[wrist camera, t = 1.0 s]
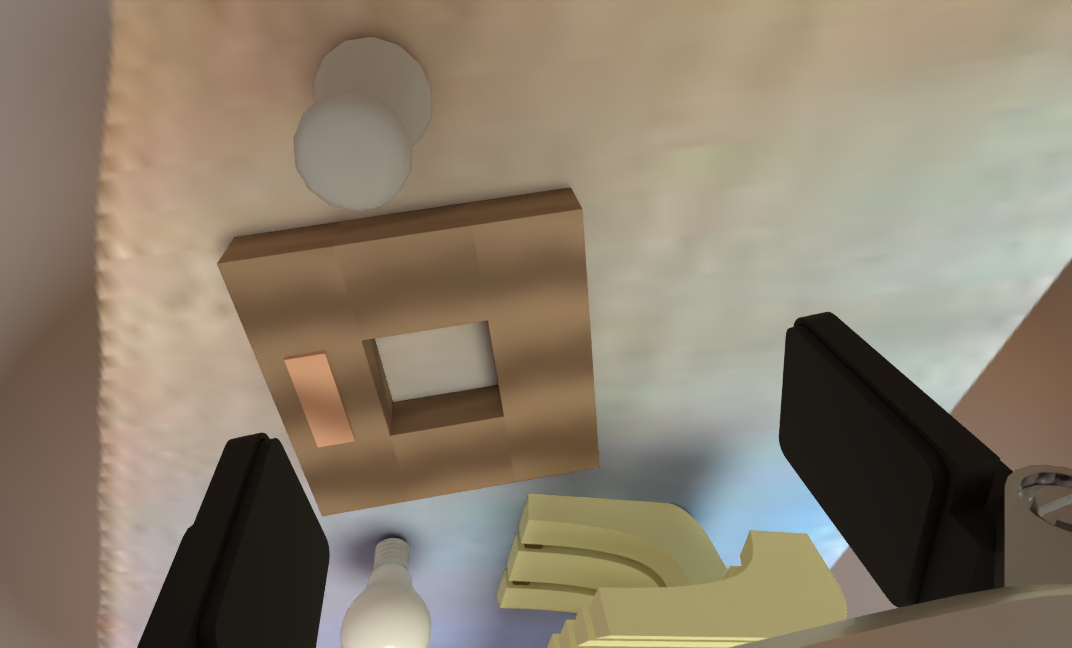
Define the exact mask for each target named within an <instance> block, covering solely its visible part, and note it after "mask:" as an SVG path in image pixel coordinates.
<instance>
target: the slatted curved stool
mask: <svg viewBox="0 0 1072 648" xmlns="http://www.w3.org/2000/svg"><path fill="white" fill-rule="evenodd" d="M519 532H520V533H516V535H515V538H514V541H513V544H512V547H511V551H510V554H509V557H508V560H507V569H504V573H503V576H502V579H501V582H500V585H499V588H498V592H497V595H496V597H497V600H498V602H499V606H500V608H516V609H537V610H552V611H563V612H571V613H577V616H576V618H575V620H566V621H565V623H564V626H563V628H562V631H561V633H552V636H551V638H550V641H549V643H548V646H547V648H729V647H734V646H738V645H742V644H746V643H750V642H755V641H759V640H763V639H767V638H771V637H776V636H780V635H784V634H788V633H793V632H797V631H801V630H805V629H809V628H814V627H818V626H822V625H826V624H831V623H835V622H839V621H843V620H846V618H847V606H846V601H845V598H844V595H843V592H842V590H841V589H840V587H839V585H838V583H837V581H836V580H835V578H834V576H833V575H832V573H831V572H830V570H829V568H828V567H827V565H826V564H825V562H824V560H823V559H822V557H821V556H820V554H819V552H818V551H817V549H816V548H815V546H814V544H813V543H812V541H811V540H810V538H809V536H808V535H807V534H802V533H786V532H769V531H753V530H750V532H749V534H748V537H747V540H746V542H745V545H744V547H743V550H742V552H741V554H740V558H741V565H742V566H730V568H729V569H727V567H726V566H725V564H724V563H723V561H722V560H721V558H720V557H719V555H718V553H717V551H716V549H715V547H714V545H713V544H712V542H711V540H710V539H709V537H708V536H707V534H706V533H705V532H704V530H703V529H702V527H701V526H700V525H699V524H698V523H697V521H696V520H695V519H694V518H693V517H692V516H691V515H690V514H689V513H687V512H686V511H685V510H683V509H682V508H680V507H678V506H676V505H674V504H670V503H660V502H646V501H631V500H617V499H603V498H588V497H574V496H560V495H545V494H531V493H529V494H528V497H527V500H526V503H525V506H524V509H523V513H522V516H521V519H520V522H519Z"/></svg>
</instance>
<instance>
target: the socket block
mask: <svg viewBox="0 0 1072 648" xmlns="http://www.w3.org/2000/svg"><path fill="white" fill-rule="evenodd" d="M217 265H218V267H219V270H220V272H221V275H222V277H223V279H224V282H225V284H226V287H227V289H228V291H229V294H230V296H231V299H232V301H233V303H234V306H235V308H236V311H237V313H238V315H239V318H240V320H241V323H242V325H243V327H244V330H245V332H246V335H247V337H248V339H249V342H250V344H251V347H252V349H253V351H254V354H255V356H256V359H257V361H258V363H259V366H260V368H261V371H262V373H263V375H264V378H265V380H266V383H267V385H268V388H269V390H270V392H271V395H272V397H273V400H274V402H275V404H276V407H277V409H278V412H279V414H280V416H281V419H282V421H283V424H284V426H285V428H286V431H287V433H288V436H289V438H290V440H291V443H292V445H293V448H294V450H295V452H296V455H297V457H298V460H299V462H300V464H301V467H302V469H303V472H304V474H305V476H306V479H307V481H308V484H309V486H310V488H311V491H312V493H313V496H314V498H315V500H316V503H317V505H318V508H319V510H320V512H321V515H322V516H326V515H332V514H338V513H343V512H349V511H355V510H360V509H366V508H372V507H377V506H383V505H389V504H394V503H400V502H406V501H412V500H417V499H423V498H429V497H434V496H440V495H446V494H451V493H457V492H463V491H468V490H474V489H480V488H485V487H491V486H497V485H502V484H508V483H514V482H519V481H525V480H531V479H536V478H542V477H548V476H553V475H559V474H565V473H570V472H576V471H582V470H587V469H593V468H599V467H600V466H599V451H598V437H597V422H596V407H595V392H594V377H593V362H592V347H591V332H590V317H589V302H588V287H587V272H586V257H585V242H584V227H583V212H582V207H581V206H580V204H579V202H578V200H577V198H576V196H575V195H574V193H573V191H572V189H571V188H566V189H559V190H552V191H546V192H539V193H532V194H525V195H519V196H512V197H505V198H498V199H491V200H485V201H478V202H471V203H464V204H458V205H451V206H444V207H437V208H431V209H424V210H417V211H410V212H404V213H397V214H390V215H383V216H376V217H370V218H363V219H356V220H349V221H343V222H336V223H329V224H322V225H316V226H309V227H302V228H295V229H289V230H282V231H275V232H268V233H262V234H255V235H248V236H241V237H234V239H233V240H232V242H231V243H230V245H229V246H228V248H227V249H226V251H225V252H224V254H223V255H222V257H221V259H220V260H219V262H218V263H217ZM481 321H488V324H489V330H490V336H491V342H492V348H493V354H494V360H495V366H496V372H497V378H498V384H499V385H497V386H491V387H485V388H479V389H473V390H467V391H461V392H455V393H449V394H443V395H437V396H431V397H425V398H419V399H413V400H407V401H401V402H395V403H393V401H392V397H391V394H390V390H389V387H388V383H387V380H386V376H385V373H384V369H383V366H382V363H381V359H380V356H379V352H378V349H377V345H376V342H375V338H381V337H387V336H394V335H400V334H406V333H413V332H419V331H425V330H431V329H438V328H444V327H450V326H456V325H463V324H469V323H475V322H481Z"/></svg>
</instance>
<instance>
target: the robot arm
mask: <svg viewBox="0 0 1072 648" xmlns="http://www.w3.org/2000/svg"><path fill="white" fill-rule="evenodd" d="M779 442H780V447H781V450H782V452H783V454H784V456H785V458H786V459H787V460H788V462H789V463H790V464H791V466H792V467H793V469H794V470H795V471H796V473H797V474H798V475H799V477H800V478H801V480H802V481H803V482H804V484H805V485H806V486H807V488H808V489H809V491H810V492H811V493H812V495H813V496H814V498H815V499H816V500H817V502H818V503H819V504H820V506H821V507H822V509H823V510H824V511H825V513H826V514H827V515H828V517H829V518H830V520H831V521H832V522H833V524H834V525H835V526H836V528H837V529H838V531H839V532H840V533H841V535H842V536H843V537H844V539H845V540H846V542H847V543H848V544H849V546H850V547H851V548H852V549H853V551H854V552H855V554H856V555H857V557H858V558H859V560H860V561H861V562H862V563H863V565H864V566H865V567H866V569H867V571H868V572H869V573H870V575H871V576H872V577H873V579H874V580H875V582H876V583H877V584H878V585H879V587H880V588H881V590H882V591H883V593H884V594H885V595H886V597H887V598H888V599H889V601H890V602H891V603H892V604H893V605H895V606H896V607H899V608H896V609H892V610H887V611H883V612H879V613H873V614H869V615H865V616H861V617H856V618H852V619H848V620H843V621H839V622H835V623H831V624H826V625H822V626H818V627H814V628H809V629H805V630H801V631H797V632H793V633H788V634H784V635H780V636H776V637H771V638H767V639H763V640H759V641H755V642H750V643H746V644H742V645H738V646H734V647H729V648H1072V469H1069V468H1066V467H1059V466H1052V465H1029V466H1026V467H1023V468H1020V469H1017V470H1015V471H1014V472H1013V471H1012V470H1010V468H1008V467H1007V466H1006V465H1005V464H1004V463H1003V462H1001V461H1000V458H999V457H998V456H997V455H996V454H995V453H993V452H992V451H991V450H990V449H989V448H988V447H987V446H985V445H984V444H983V443H982V442H981V441H980V440H979V439H977V438H976V437H975V436H974V435H973V434H972V433H971V432H969V431H968V430H967V429H966V428H965V427H963V426H962V425H961V424H960V423H959V422H958V421H957V420H956V419H954V418H953V417H952V416H951V415H950V414H949V413H947V412H946V411H945V410H944V409H943V408H942V407H941V406H939V405H938V404H937V403H936V402H935V401H934V400H932V399H931V398H930V397H929V396H928V395H927V394H926V393H924V392H923V391H922V390H921V389H920V388H919V387H917V386H916V385H915V384H914V383H913V382H912V381H911V380H909V379H908V378H907V377H906V376H905V375H904V374H902V373H901V372H900V371H899V370H898V369H897V368H896V367H894V366H893V365H892V364H891V363H890V362H889V361H887V360H886V359H885V358H884V357H883V356H882V355H881V354H879V353H878V352H877V351H876V350H875V349H874V348H872V347H871V346H870V345H869V344H868V343H867V342H865V341H864V340H863V339H862V338H861V337H860V336H859V335H857V334H856V333H855V332H854V331H853V330H852V329H850V328H849V327H848V326H847V325H846V324H845V323H844V322H842V321H841V320H840V319H839V318H838V317H837V316H835V315H834V314H833V313H831V312H824V313H819V314H815V315H810V316H805V317H801V318H798V319H797V320H796V321H795V323H794V327H791V328H789V329H788V330H787V332H786V341H785V356H784V370H783V385H782V399H781V414H780V429H779ZM329 557H330V556H329V545H328V541H327V539H326V536H325V534H324V532H323V530H322V528H321V526H320V524H319V522H318V519H317V517H316V515H315V513H314V511H313V509H312V507H311V505H310V503H309V500H308V498H307V496H306V494H305V492H304V490H303V488H302V486H301V484H300V482H299V479H298V477H297V475H296V473H295V471H294V469H293V467H292V465H291V463H290V460H289V458H288V456H287V454H286V452H285V450H284V448H283V446H282V444H281V442H280V440H278V439H277V438H273V439H269V437H268V436H267V435H266V434H265V433H258V434H253V435H248V436H243V437H239V438H234V439H231V440H229V441H228V442H227V444H226V445H225V448H224V450H223V453H222V455H221V458H220V460H219V463H218V465H217V467H216V470H215V472H214V475H213V477H212V480H211V482H210V485H209V487H208V490H207V492H206V495H205V497H204V500H203V502H202V504H201V507H200V509H199V512H198V514H197V517H196V519H195V522H194V524H193V525H192V526H191V527H190V528H188V529H187V531H186V533H185V534H184V536H183V538H182V541H181V543H180V545H179V548H178V550H177V553H176V555H175V558H174V560H173V562H172V565H171V567H170V570H169V572H168V574H167V577H166V579H165V582H164V584H163V587H162V589H161V591H160V594H159V596H158V599H157V601H156V603H155V606H154V608H153V611H152V613H151V615H150V618H149V620H148V623H147V625H146V628H145V630H144V632H143V635H142V637H141V640H140V642H139V644H138V647H137V648H316V642H317V636H318V630H319V623H320V617H321V610H322V604H323V597H324V591H325V585H326V578H327V572H328V565H329ZM900 607H901V608H900Z"/></svg>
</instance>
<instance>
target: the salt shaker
mask: <svg viewBox="0 0 1072 648" xmlns="http://www.w3.org/2000/svg"><path fill="white" fill-rule="evenodd" d="M314 96H315V104H314V105H313V106H311V107H310V108H309V109H307V110H306V111H305V112H304V113H303V115H302V118H301V120H300V123H299V125H298V128H297V130H296V133H295V135H294V151H295V163H296V169H297V170H298V172H299V174H300V175H301V177H302V178H303V180H304V182H305V183H306V185H307V187H308V188H309V190H310V191H312V192H313V193H314V194H316V195H317V196H318V197H320V198H321V199H322V200H324V201H325V202H326V203H328V204H329V205H331V206H335V207H339V208H343V209H348V210H352V211H359V210H366V209H372V208H378V207H380V206H381V205H383V204H384V203H385V202H387V201H388V200H390V199H391V198H392V197H394V196H395V195H396V194H398V192H399V191H400V190H401V188H402V186H403V184H404V182H405V180H406V178H407V177H408V175H409V173H410V171H411V169H412V165H411V146H412V145H414V144H415V143H416V142H417V141H419V140H420V138H421V137H422V135H423V133H424V131H425V129H426V127H427V125H428V123H429V121H430V120H431V118H432V90H431V88H430V86H429V83H428V81H427V79H426V76H425V74H424V72H423V69H422V67H421V65H420V64H419V63H418V62H417V61H416V60H415V59H413V58H412V57H411V56H410V55H409V54H408V53H407V52H406V51H405V50H404V49H403V48H401V47H400V46H399V45H397V44H394V43H391V42H388V41H385V40H381V39H378V38H375V37H366V38H360V39H354V40H347V41H344V42H343V43H341V44H340V45H339V46H338V47H336V48H335V49H334V50H332V51H331V52H330V53H329V54H327V55H326V56H325V57H323V60H322V62H321V65H320V67H319V70H318V72H317V75H316V77H315V80H314Z"/></svg>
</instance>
